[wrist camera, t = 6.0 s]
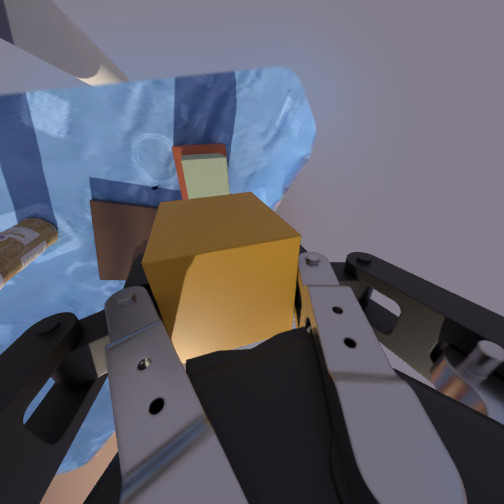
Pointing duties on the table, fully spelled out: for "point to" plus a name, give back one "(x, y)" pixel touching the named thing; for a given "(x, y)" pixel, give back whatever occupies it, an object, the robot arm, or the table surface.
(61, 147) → the table surface
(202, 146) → the base block
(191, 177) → the middle block
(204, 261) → the top block
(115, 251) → the board
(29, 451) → the robot arm
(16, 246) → the spice jar
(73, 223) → the table surface
